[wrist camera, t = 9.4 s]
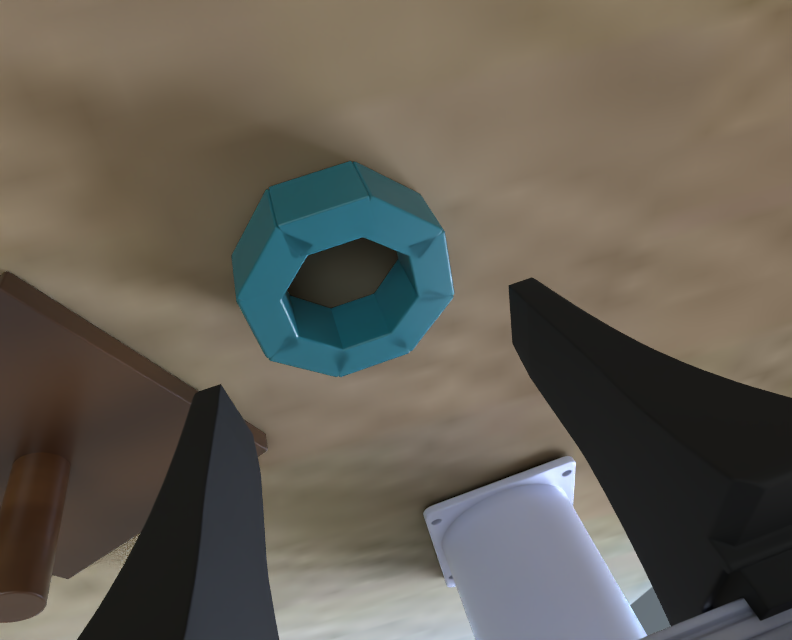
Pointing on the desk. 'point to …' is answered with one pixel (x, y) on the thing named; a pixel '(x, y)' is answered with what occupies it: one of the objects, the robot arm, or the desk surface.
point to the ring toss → (75, 443)
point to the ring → (328, 227)
